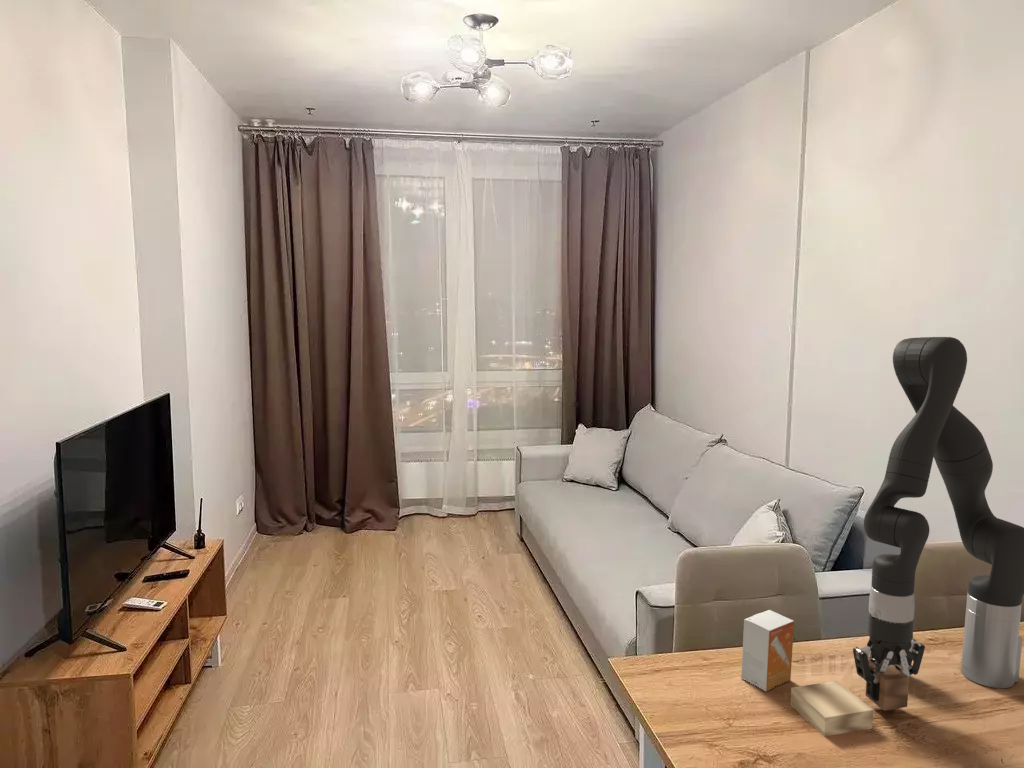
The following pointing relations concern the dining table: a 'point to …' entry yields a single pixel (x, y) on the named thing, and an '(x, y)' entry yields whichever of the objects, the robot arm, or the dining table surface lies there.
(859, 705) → the oak block
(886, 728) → the dining table surface
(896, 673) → the walnut cube
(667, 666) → the dining table surface
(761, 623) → the small box
